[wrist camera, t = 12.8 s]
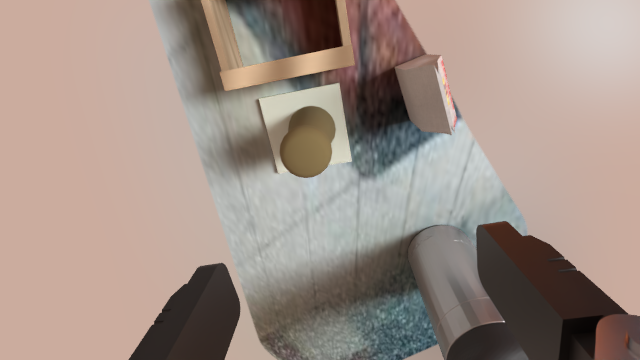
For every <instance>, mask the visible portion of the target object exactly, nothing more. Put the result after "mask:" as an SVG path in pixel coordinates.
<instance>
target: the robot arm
mask: <svg viewBox="0 0 640 360" xmlns="http://www.w3.org/2000/svg"><path fill="white" fill-rule="evenodd" d="M476 237H477V249H476V247H475V246H474V245H473V243H472V242H471V241H470V239H469V238H468V236H467V235H466V234H465V233H464V232H463V231H461V230H460V229H458V228H455V227H453V226H447V225H439V226H433V227H430V228H427V229H425V230H423V231H422V232H420V233H419V234H418V235H417V236H415V238H414V239H413V240H412V241H411V244H410V246H409V249H408V259H409V262H410V265H411V268H412V271H413V274H414V277H415V280H416V283H417V285H418V288H419V291H420V294H421V297H422V299H423V302H424V305H425V308H426V311H427V313H428V316H429V319H430V322H431V324H432V327H433V330H434V333H435V336H436V338H437V341H438V344H439V346H440V349H441V352H442V355H443V357H444V360H640V316H637V315H629V314H628V313H627V312H625V311H624V310H623V309H622V308H621V307H620V306H619V305H618V304H617V303H615V302H614V301H613V300H612V299H611V298H610V297H608V296H607V295H606V294H605V293H604V292H603V291H602V290H601V289H600V288H598V287H597V286H596V285H595V284H594V283H593V282H592V281H591V280H589V279H588V278H587V277H586V276H585V275H584V274H583V273H581V272H580V271H577V270H576V267H575V266H574V265H572V264H571V263H570V262H569V261H568V260H565V259H564V257H563V256H562V255H561V254H560V253H559V252H558V251H556V250H555V249H554V248H553V247H552V246H551V245H550V244H548V243H546V242H543V241H541V240H539V239H537V238H535V237H533V236H531V235H528V236H522V235H521V234H520V233H519V232H518V231H517V230H516V229H515V228H514V227H512V226H511V225H510V224H509V223H508V222H506V221H503V222H496V223H490V224H483V225H478V227H477V230H476ZM239 316H240V302H239V298H238V295H237V293H236V290H235V288H234V285H233V283H232V280H231V277H230V275H229V272H228V269H227V267H226V266H225V265H224V264H223V263H219V264H212V265H205V266H200V267H198V268H197V270H196V271H195V273H194V274H193V276H192V277H191V279H190V280H189V282H188V284H184V285H183V286H182V287H181V288H180V289H179V290H178V291H177V292H175V293H174V294H173V295H172V296H171V297H170V299H169V300H168V302H167V303H166V305H165V306H164V308H163V309H162V313H160V314H159V315H158V317H157V318H156V320H155V321H154V325H152V326H151V327H150V329H149V330H148V332H147V333H146V335H145V336H144V338H143V339H142V341H141V342H140V344H139V345H138V347H137V348H136V349H135V351H134V353H133V354H132V355H131V357H130V358H129V360H224V359H225V356H226V354H227V351H228V348H229V345H230V342H231V340H232V337H233V334H234V331H235V328H236V326H237V323H238V320H239Z"/></svg>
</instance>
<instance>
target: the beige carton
mask: <svg viewBox="0 0 640 360" xmlns="http://www.w3.org/2000/svg"><path fill="white" fill-rule="evenodd" d="M394 68H395V71H396V74H397V78H398V81H399V85H400V88H401V91H402V95H403V98H404V101H405V105H406V108H407V111H408V115H409V118H410V121H412V122H413V123H414V124H415V125H416V126H417V127H418V128H419V129H420V130H422V131H425V132H437V133H446V134H450V135H452V129H453V131H454V132H455V130H454V127H455V123H456V120H457V118H456V114H455V109H454V105H453V101H452V97H451V93H450V89H449V85H448V80H447V76H446V72H445V68H444V64H443V60H442V56H441V55H423V56H420V57H418V58H415V59H413V60H410V61H408V62H406V63H403V64H401V65H398V66H396V67H394Z"/></svg>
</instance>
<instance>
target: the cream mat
mask: <svg viewBox="0 0 640 360" xmlns="http://www.w3.org/2000/svg"><path fill="white" fill-rule="evenodd" d="M259 102H260V106H261V110H262V113H263V117H264V121H265V125H266V129H267V133H268V136H269V140H270V144H271V148H272V152H273V156H274V159H275V163H276V167H277V171H278V174H279V173H285V172H289V171H288V170H287V169H286V168H285V167H284V165H283V163H282V161H281V157H280V153H279V152H280V144H281V142H282V140H283V137H284V136H285V135H286V134H287V133H288V128H289V122H290V119H291V117H292V115H293V114H294V113H295V112H296V111H297V110H299V109H301V108H303V107H306V106H317V107H320V108H322V109H324V110H326V111H327V112H328V113H329V114H330V115H331V116H332V118H333V120H334V122H335V128H336V132H335V137H334V139H333V141H332V143H331V147H332V156H331V161H330V163H329V165H332V164H338V163H344V162H350V161H352V159H351V153H350V147H349V141H348V135H347V128H346V122H345V116H344V110H343V104H342V98H341V92H340V85H339V83H335V84H329V85H324V86H319V87H314V88H309V89H304V90H299V91H294V92H289V93H284V94H279V95H274V96H269V97H263V98H259Z"/></svg>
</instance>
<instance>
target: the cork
mask: <svg viewBox="0 0 640 360" xmlns="http://www.w3.org/2000/svg"><path fill="white" fill-rule="evenodd" d="M335 132H336V128H335V122H334V120H333V118H332V116H331V115H330V114H329V113H328V112H327V111H326V110H324V109H322V108H320V107H317V106H306V107H303V108H301V109H299V110H297V111H296V112H295V113H294V114H293V115H292V117H291V119H290V122H289V128H288V133H287V134H286V135H285V136H284V137H283V140H282V142H281V144H280V152H279V153H280V157H281V161H282V163H283V165H284V167H285V168H286V169H287V170H288V171H289V172H290V173H292V174H294V175H296V176H298V177H304V178H308V177H314V176H316V175H318V174H320V173H322V172H323V171H324V170H325V169H326V168H327V166H328V165H329V163H330V161H331V156H332V147H331V143H332V141H333V139H334V137H335Z"/></svg>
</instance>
